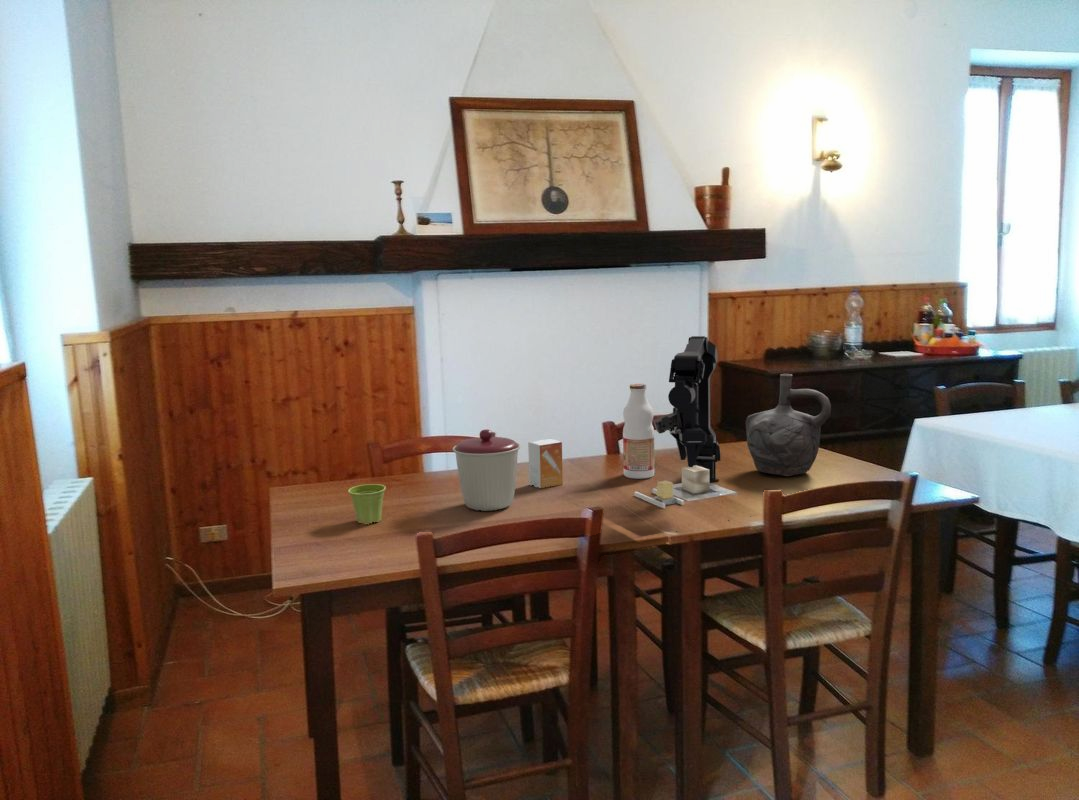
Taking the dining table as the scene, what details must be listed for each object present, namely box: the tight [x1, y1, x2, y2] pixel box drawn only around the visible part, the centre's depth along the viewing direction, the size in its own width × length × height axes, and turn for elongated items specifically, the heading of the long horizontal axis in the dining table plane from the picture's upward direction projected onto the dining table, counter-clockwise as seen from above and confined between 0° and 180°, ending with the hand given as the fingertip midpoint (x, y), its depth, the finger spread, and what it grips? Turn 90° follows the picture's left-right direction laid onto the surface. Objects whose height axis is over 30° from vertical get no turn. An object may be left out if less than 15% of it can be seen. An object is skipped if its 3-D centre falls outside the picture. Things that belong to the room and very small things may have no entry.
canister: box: [452, 429, 521, 512], centre depth 221 cm, size 18×18×21 cm
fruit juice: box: [622, 383, 655, 480], centre depth 249 cm, size 9×9×28 cm
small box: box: [527, 438, 564, 489], centre depth 242 cm, size 8×6×13 cm
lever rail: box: [634, 488, 685, 509], centre depth 220 cm, size 7×14×2 cm, turn 25°
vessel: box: [745, 373, 832, 477], centre depth 246 cm, size 24×22×30 cm
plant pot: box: [347, 483, 387, 524], centre depth 211 cm, size 9×9×9 cm
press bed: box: [654, 482, 738, 502], centre depth 228 cm, size 16×16×1 cm
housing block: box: [681, 465, 711, 493], centre depth 228 cm, size 5×6×6 cm
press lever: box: [653, 480, 677, 506], centre depth 216 cm, size 4×4×6 cm
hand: (686, 463), depth 213 cm, fingers open, 9 cm apart
